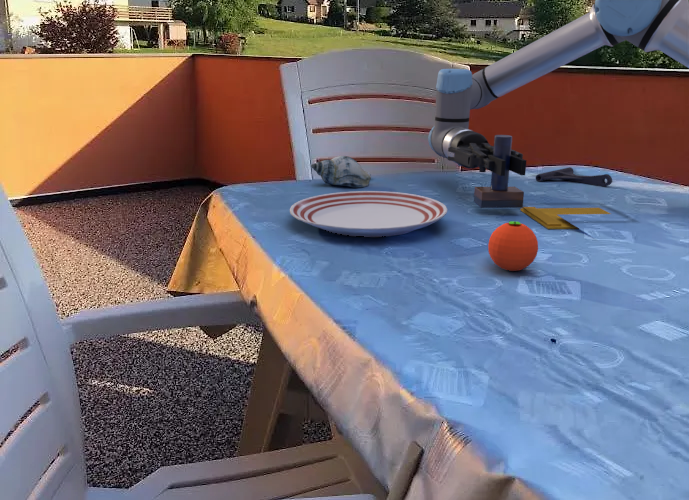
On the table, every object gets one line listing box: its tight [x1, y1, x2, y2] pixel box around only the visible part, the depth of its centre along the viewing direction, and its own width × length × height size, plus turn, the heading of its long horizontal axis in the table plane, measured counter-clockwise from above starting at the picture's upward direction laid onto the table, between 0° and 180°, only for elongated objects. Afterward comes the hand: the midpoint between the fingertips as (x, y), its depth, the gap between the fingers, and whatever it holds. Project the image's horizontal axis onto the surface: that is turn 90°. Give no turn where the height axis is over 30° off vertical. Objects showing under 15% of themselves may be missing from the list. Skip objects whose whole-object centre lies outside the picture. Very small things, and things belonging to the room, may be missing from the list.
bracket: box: [535, 167, 613, 187], centre depth 165 cm, size 14×15×3 cm
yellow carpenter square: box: [519, 206, 612, 230], centre depth 131 cm, size 16×14×1 cm
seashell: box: [310, 155, 372, 189], centre depth 156 cm, size 6×8×12 cm
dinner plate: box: [289, 190, 448, 238], centre depth 124 cm, size 28×27×3 cm
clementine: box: [487, 220, 539, 272], centre depth 101 cm, size 8×7×7 cm
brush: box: [473, 134, 525, 209], centre depth 132 cm, size 8×5×13 cm, turn 97°
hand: (513, 168), depth 127 cm, fingers closed on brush, 3 cm apart
